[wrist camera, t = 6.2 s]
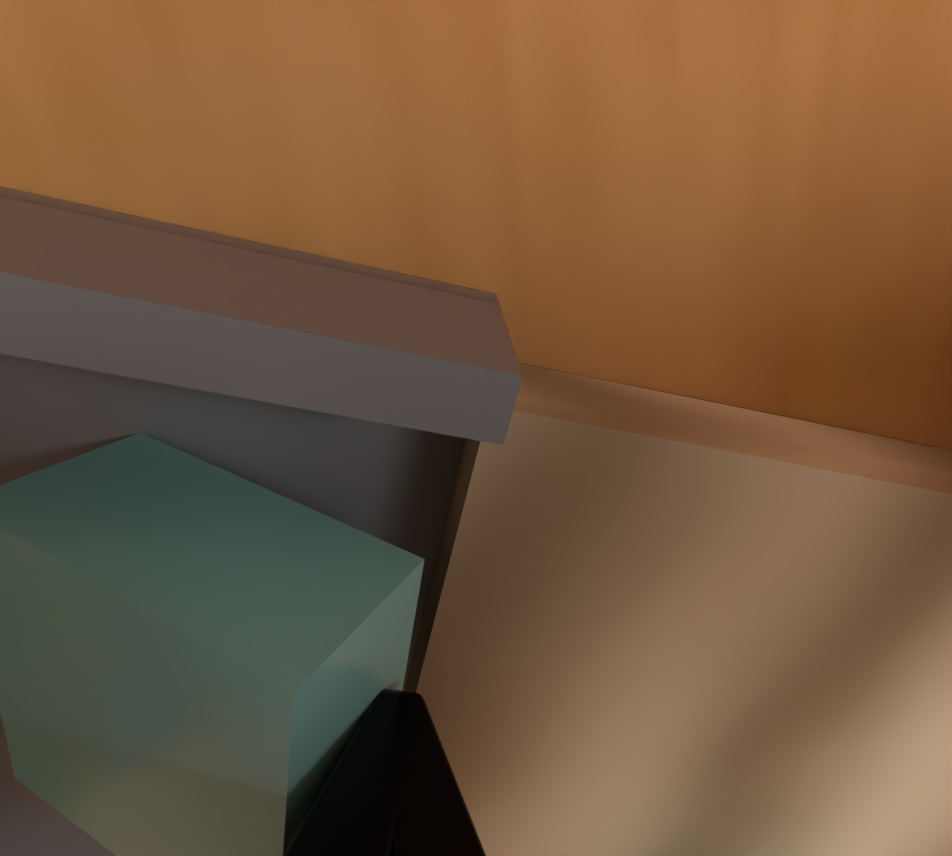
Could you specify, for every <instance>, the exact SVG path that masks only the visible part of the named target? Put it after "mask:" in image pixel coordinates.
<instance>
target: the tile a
mask: <svg viewBox="0 0 952 856" xmlns="http://www.w3.org/2000/svg"><path fill="white" fill-rule="evenodd" d="M424 560H425V559H423V558H421V557H419V556H417V555H414V554H412V553H410V552H408V551H405V550H403V549H401V548H399V547H396V546H394V545H392V544H390V543H387V542H385V541H383V540H381V539H378V538H376V537H374V536H372V535H369V534H367V533H365V532H363V531H360V530H358V529H356V528H354V527H351V526H349V525H347V524H345V523H343V522H340V521H338V520H336V519H334V518H331V517H329V516H327V515H325V514H322V513H320V512H318V511H316V510H313V509H311V508H309V507H307V506H304V505H302V504H300V503H298V502H295V501H293V500H291V499H289V498H286V497H284V496H282V495H280V494H277V493H275V492H273V491H271V490H268V489H266V488H264V487H262V486H259V485H257V484H255V483H253V482H250V481H248V480H246V479H244V478H241V477H239V476H237V475H235V474H232V473H230V472H228V471H226V470H223V469H221V468H219V467H217V466H214V465H212V464H210V463H208V462H205V461H203V460H201V459H199V458H196V457H194V456H192V455H190V454H187V453H185V452H183V451H181V450H178V449H176V448H174V447H172V446H169V445H167V444H165V443H163V442H161V441H158V440H156V439H154V438H152V437H149V436H147V435H145V434H143V433H138V434H136V435H133V436H130V437H128V438H125V439H122V440H119V441H117V442H114V443H111V444H109V445H106V446H103V447H101V448H98V449H95V450H93V451H90V452H87V453H84V454H82V455H79V456H76V457H74V458H71V459H68V460H66V461H63V462H60V463H58V464H55V465H52V466H50V467H47V468H44V469H41V470H39V471H36V472H33V473H31V474H28V475H25V476H23V477H20V478H17V479H15V480H12V481H9V482H7V483H4V484H1V485H0V712H1V716H2V721H3V726H4V730H5V735H6V740H7V744H8V749H9V754H10V758H11V763H12V768H13V772H14V777H15V779H16V780H17V781H19V782H20V783H21V784H23V785H24V786H25V787H27V788H28V789H29V790H31V791H32V792H33V793H34V794H36V795H37V796H38V797H40V798H41V799H42V800H44V801H45V802H46V803H48V804H49V805H50V806H52V807H53V808H54V809H56V810H57V811H58V812H60V813H61V814H62V815H64V816H65V817H66V818H67V819H69V820H70V821H71V822H73V823H74V824H75V825H77V826H78V827H79V828H81V829H82V830H83V831H85V832H86V833H87V834H89V835H90V836H91V837H93V838H94V839H95V840H97V841H98V842H99V843H101V844H102V845H103V846H104V847H106V848H107V849H108V850H110V851H111V852H112V853H114V854H115V855H116V856H284V854H285V852H286V850H287V849H288V847H289V845H290V844H291V842H292V840H293V838H294V837H295V835H296V833H297V831H298V830H299V828H300V826H301V825H302V823H303V821H304V819H305V818H306V816H307V814H308V812H309V811H310V809H311V807H312V806H313V804H314V802H315V800H316V799H317V797H318V795H319V794H320V792H321V790H322V788H323V787H324V785H325V783H326V781H327V780H328V778H329V776H330V775H331V773H332V771H333V769H334V768H335V766H336V764H337V762H338V761H339V759H340V757H341V756H342V754H343V752H344V750H345V749H346V747H347V745H348V743H349V742H350V740H351V738H352V737H353V735H354V733H355V731H356V730H357V728H358V726H359V725H360V723H361V721H362V719H363V718H364V716H365V714H366V712H367V711H368V709H369V707H370V706H371V704H372V702H373V700H374V699H375V698H376V696H377V695H378V694H379V693H380V692H381V691H382V690H383V689H393V690H400V691H402V690H403V684H404V678H405V672H406V666H407V661H408V655H409V649H410V643H411V637H412V631H413V625H414V619H415V613H416V607H417V601H418V595H419V589H420V583H421V578H422V572H423V566H424Z"/></svg>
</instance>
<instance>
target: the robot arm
mask: <svg viewBox="0 0 952 856" xmlns="http://www.w3.org/2000/svg"><path fill="white" fill-rule="evenodd" d="M284 856H486V854H485V851H484V849H483V846H482V844H481V841H480V839H479V836H478V834H477V831H476V829H475V826H474V824H473V821H472V819H471V816H470V813H469V811H468V808H467V806H466V803H465V801H464V798H463V796H462V793H461V791H460V788H459V786H458V783H457V781H456V778H455V776H454V773H453V771H452V768H451V766H450V763H449V761H448V758H447V756H446V753H445V751H444V748H443V745H442V743H441V740H440V738H439V735H438V733H437V730H436V728H435V725H434V723H433V720H432V718H431V715H430V713H429V710H428V708H427V705H426V703H425V700H424V698H423V696H422V695H421V694H419V693H416V692H408V691H400V690H393V689H383V690H382V691H381V692H380V693H379V694H378V695H377V696H376V698H375V699H374V700H373V702H372V704H371V706H370V707H369V709H368V711H367V712H366V714H365V716H364V718H363V719H362V721H361V723H360V725H359V726H358V728H357V730H356V731H355V733H354V735H353V737H352V738H351V740H350V742H349V743H348V745H347V747H346V749H345V750H344V752H343V754H342V756H341V757H340V759H339V761H338V762H337V764H336V766H335V768H334V769H333V771H332V773H331V775H330V776H329V778H328V780H327V781H326V783H325V785H324V787H323V788H322V790H321V792H320V794H319V795H318V797H317V799H316V800H315V802H314V804H313V806H312V807H311V809H310V811H309V812H308V814H307V816H306V818H305V819H304V821H303V823H302V825H301V826H300V828H299V830H298V831H297V833H296V835H295V837H294V838H293V840H292V842H291V844H290V845H289V847H288V849H287V850H286V852H285V854H284Z"/></svg>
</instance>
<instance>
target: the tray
mask: <svg viewBox="0 0 952 856" xmlns="http://www.w3.org/2000/svg"><path fill="white" fill-rule="evenodd" d="M522 377H523V375H522V372H521V369H520V366H519V363H518V360H517V357H516V354H515V351H514V348H513V345H512V342H511V339H510V336H509V333H508V330H507V327H506V324H505V321H504V318H503V315H502V311H501V308H500V305H499V302H498V299H497V296H496V294H493V293H489V292H484V291H480V290H475V289H470V288H466V287H461V286H456V285H452V284H447V283H443V282H438V281H433V280H429V279H424V278H420V277H415V276H410V275H406V274H401V273H396V272H392V271H387V270H383V269H378V268H373V267H369V266H364V265H360V264H355V263H350V262H346V261H341V260H336V259H332V258H327V257H323V256H318V255H313V254H309V253H304V252H300V251H295V250H290V249H286V248H281V247H276V246H272V245H267V244H263V243H258V242H253V241H249V240H244V239H240V238H235V237H230V236H226V235H221V234H217V233H212V232H207V231H203V230H198V229H193V228H189V227H184V226H180V225H175V224H170V223H166V222H161V221H157V220H152V219H147V218H143V217H138V216H133V215H129V214H124V213H120V212H115V211H110V210H106V209H101V208H97V207H92V206H87V205H83V204H78V203H73V202H69V201H64V200H60V199H55V198H50V197H46V196H41V195H37V194H32V193H27V192H23V191H18V190H13V189H9V188H4V187H0V485H1V484H4V483H7V482H9V481H12V480H15V479H17V478H20V477H23V476H25V475H28V474H31V473H33V472H36V471H39V470H41V469H44V468H47V467H50V466H52V465H55V464H58V463H60V462H63V461H66V460H68V459H71V458H74V457H76V456H79V455H82V454H84V453H87V452H90V451H93V450H95V449H98V448H101V447H103V446H106V445H109V444H111V443H114V442H117V441H119V440H122V439H125V438H128V437H130V436H133V435H136V434H138V433H143V434H145V435H147V436H149V437H152V438H154V439H156V440H158V441H161V442H163V443H165V444H167V445H169V446H172V447H174V448H176V449H178V450H181V451H183V452H185V453H187V454H190V455H192V456H194V457H196V458H199V459H201V460H203V461H205V462H208V463H210V464H212V465H214V466H217V467H219V468H221V469H223V470H226V471H228V472H230V473H232V474H235V475H237V476H239V477H241V478H244V479H246V480H248V481H250V482H253V483H255V484H257V485H259V486H262V487H264V488H266V489H268V490H271V491H273V492H275V493H277V494H280V495H282V496H284V497H286V498H289V499H291V500H293V501H295V502H298V503H300V504H302V505H304V506H307V507H309V508H311V509H313V510H316V511H318V512H320V513H322V514H325V515H327V516H329V517H331V518H334V519H336V520H338V521H340V522H343V523H345V524H347V525H349V526H351V527H354V528H356V529H358V530H360V531H363V532H365V533H367V534H369V535H372V536H374V537H376V538H378V539H381V540H383V541H385V542H387V543H390V544H392V545H394V546H396V547H399V548H401V549H403V550H405V551H408V552H410V553H412V554H414V555H417V556H419V557H421V558H423V559H425V560H424V566H423V572H422V578H421V583H420V589H419V595H418V601H417V607H416V613H415V619H414V625H413V631H412V637H411V643H410V649H409V655H408V661H407V666H406V672H405V678H404V684H403V690H402V691H404V689H405V685H406V680H407V676H408V672H409V668H410V664H411V660H412V656H413V652H414V648H415V644H416V640H417V636H418V632H419V628H420V623H421V619H422V615H423V611H424V607H425V603H426V599H427V595H428V591H429V587H430V583H431V579H432V575H433V571H434V567H435V562H436V558H437V554H438V550H439V546H440V542H441V538H442V534H443V530H444V526H445V522H446V518H447V514H448V510H449V505H450V501H451V497H452V493H453V489H454V485H455V481H456V477H457V473H458V469H459V465H460V461H461V457H462V453H463V448H464V444H465V440H466V439H472V440H477V441H483V442H488V443H494V444H499V445H504V442H505V439H506V435H507V431H508V428H509V424H510V421H511V417H512V413H513V410H514V406H515V402H516V399H517V395H518V392H519V388H520V384H521V381H522ZM0 856H116V855H115V854H114V853H112V852H111V851H110V850H108V849H107V848H106V847H104V846H103V845H102V844H101V843H99V842H98V841H97V840H95V839H94V838H93V837H91V836H90V835H89V834H87V833H86V832H85V831H83V830H82V829H81V828H79V827H78V826H77V825H75V824H74V823H73V822H71V821H70V820H69V819H67V818H66V817H65V816H64V815H62V814H61V813H60V812H58V811H57V810H56V809H54V808H53V807H52V806H50V805H49V804H48V803H46V802H45V801H44V800H42V799H41V798H40V797H38V796H37V795H36V794H34V793H33V792H32V791H31V790H29V789H28V788H27V787H25V786H24V785H23V784H21V783H20V782H19V781H17V780H16V779H15V777H14V772H13V768H12V763H11V758H10V754H9V749H8V744H7V740H6V735H5V730H4V726H3V721H2V716H1V712H0Z"/></svg>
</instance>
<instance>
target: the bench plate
mask: <svg viewBox="0 0 952 856" xmlns="http://www.w3.org/2000/svg"><path fill="white" fill-rule="evenodd" d="M519 366H520V369H521V372H522V375H523V377H522V381H521V384H520V388H519V392H518V395H517V399H516V402H515V406H514V410H513V413H512V417H511V421H510V424H509V428H508V431H507V435H506V439H505V442H504V445H499V444H494V443H488V442H483V441H477V440H472V439H466V440H465V444H464V448H463V453H462V457H461V461H460V465H459V469H458V473H457V477H456V481H455V485H454V489H453V493H452V497H451V501H450V505H449V510H448V514H447V518H446V522H445V526H444V530H443V534H442V538H441V542H440V546H439V550H438V554H437V558H436V562H435V567H434V571H433V575H432V579H431V583H430V587H429V591H428V595H427V599H426V603H425V607H424V611H423V615H422V619H421V623H420V628H419V632H418V636H417V640H416V644H415V648H414V652H413V656H412V660H411V664H410V668H409V672H408V676H407V680H406V685H405V689H404V691H408V692H416V693H419V694H421V695H422V696H423V698H424V700H425V703H426V705H427V708H428V710H429V713H430V715H431V718H432V720H433V723H434V725H435V728H436V730H437V733H438V735H439V738H440V740H441V743H442V745H443V748H444V751H445V753H446V756H447V758H448V761H449V763H450V766H451V768H452V771H453V773H454V776H455V778H456V781H457V783H458V786H459V788H460V791H461V793H462V796H463V798H464V801H465V803H466V806H467V808H468V811H469V813H470V816H471V819H472V821H473V824H474V826H475V829H476V831H477V834H478V836H479V839H480V841H481V844H482V846H483V849H484V851H485V854H486V856H952V450H947V449H942V448H937V447H932V446H927V445H922V444H917V443H912V442H907V441H902V440H898V439H893V438H888V437H883V436H878V435H873V434H868V433H863V432H858V431H853V430H848V429H843V428H838V427H833V426H828V425H823V424H818V423H813V422H808V421H803V420H798V419H793V418H788V417H784V416H779V415H774V414H769V413H764V412H759V411H754V410H749V409H744V408H739V407H734V406H729V405H724V404H719V403H714V402H709V401H704V400H699V399H694V398H689V397H684V396H679V395H674V394H670V393H665V392H660V391H655V390H650V389H645V388H640V387H635V386H630V385H625V384H620V383H615V382H610V381H605V380H600V379H595V378H590V377H585V376H580V375H575V374H570V373H565V372H561V371H556V370H551V369H546V368H541V367H536V366H531V365H526V364H521V363H519Z"/></svg>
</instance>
